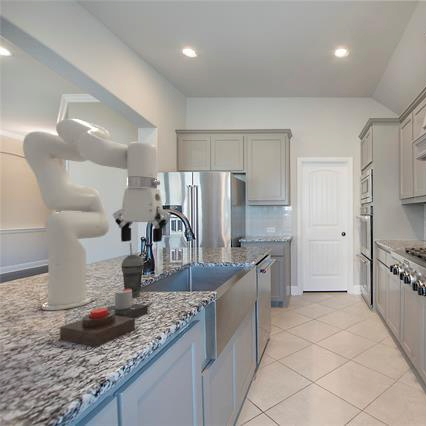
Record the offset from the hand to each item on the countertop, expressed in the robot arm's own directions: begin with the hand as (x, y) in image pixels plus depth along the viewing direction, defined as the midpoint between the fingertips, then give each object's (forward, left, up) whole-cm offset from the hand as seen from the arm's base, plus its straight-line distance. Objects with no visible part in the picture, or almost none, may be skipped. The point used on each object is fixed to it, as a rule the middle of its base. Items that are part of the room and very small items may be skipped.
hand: (141, 241), depth 85 cm
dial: (-6, -1, -20) cm, 21 cm away
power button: (+1, -13, -18) cm, 22 cm away
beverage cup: (-22, +15, -23) cm, 35 cm away
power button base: (+1, -13, -23) cm, 26 cm away
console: (-6, -1, -23) cm, 24 cm away
